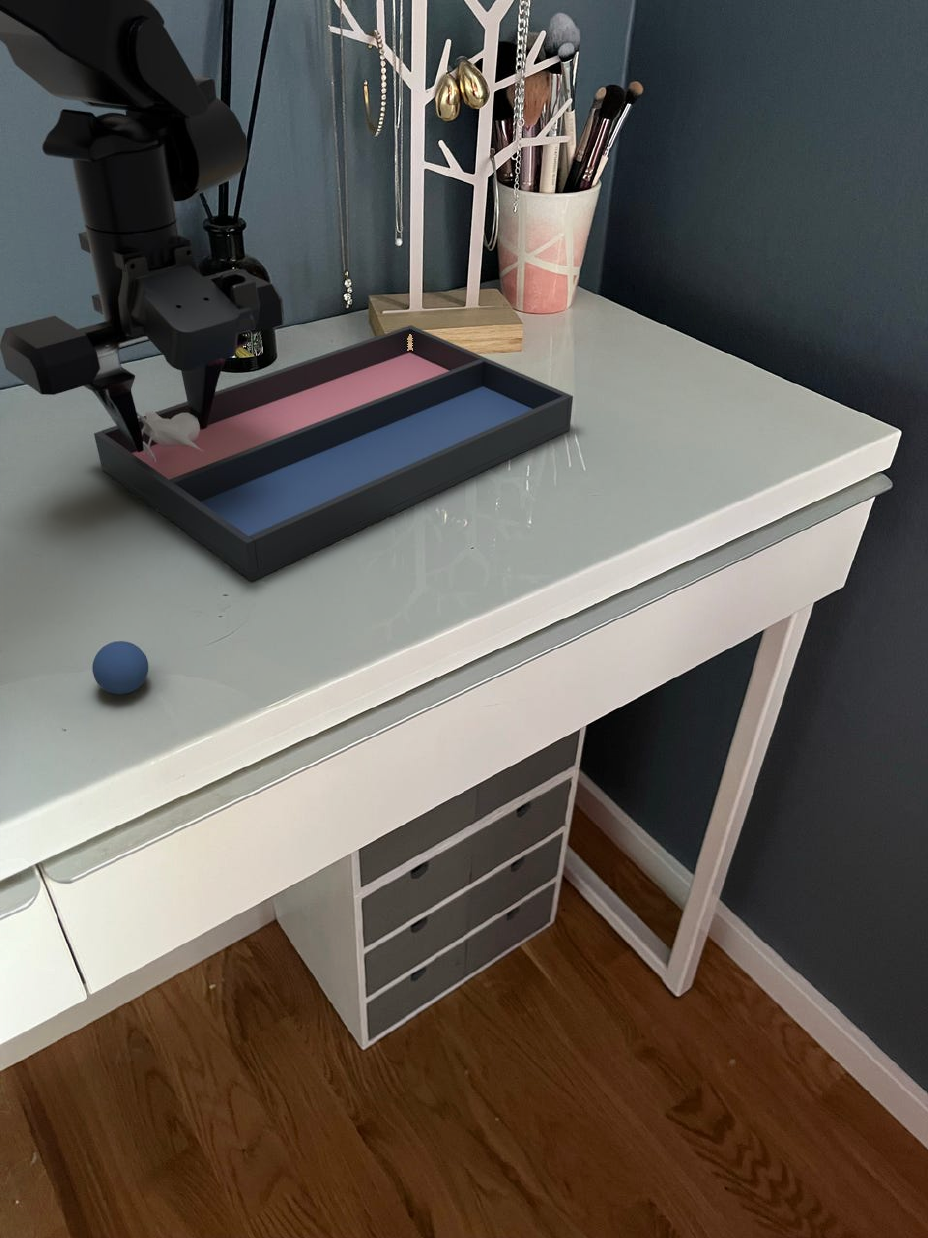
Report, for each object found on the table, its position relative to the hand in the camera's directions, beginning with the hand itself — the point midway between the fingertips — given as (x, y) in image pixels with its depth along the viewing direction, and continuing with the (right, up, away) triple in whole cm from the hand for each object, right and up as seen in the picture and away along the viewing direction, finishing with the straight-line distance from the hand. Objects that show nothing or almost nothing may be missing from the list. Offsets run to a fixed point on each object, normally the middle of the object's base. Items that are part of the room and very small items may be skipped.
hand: (169, 438), depth 73 cm
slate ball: (+2, -16, -17) cm, 24 cm away
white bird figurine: (0, -1, +1) cm, 1 cm away
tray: (+12, 0, +6) cm, 14 cm away
